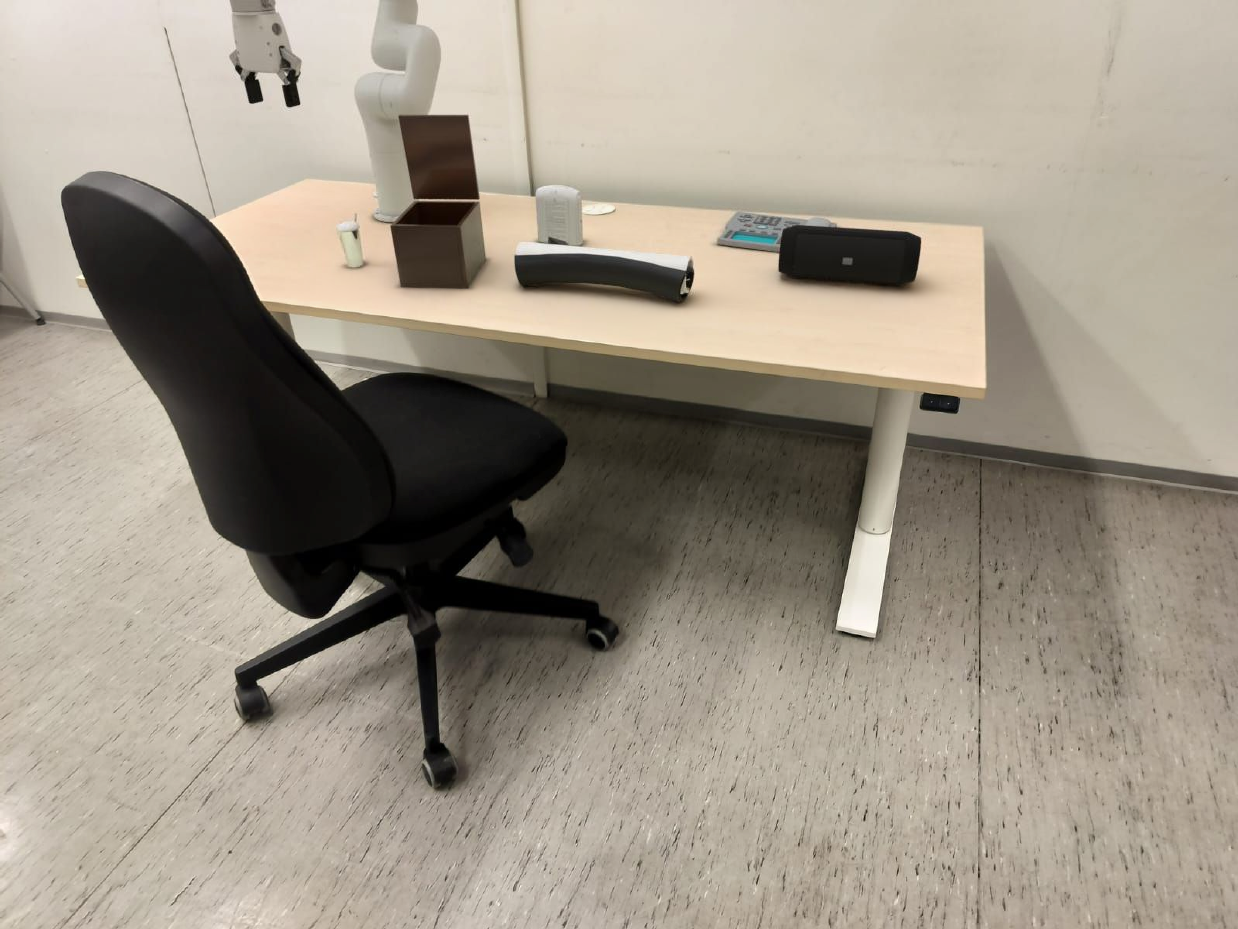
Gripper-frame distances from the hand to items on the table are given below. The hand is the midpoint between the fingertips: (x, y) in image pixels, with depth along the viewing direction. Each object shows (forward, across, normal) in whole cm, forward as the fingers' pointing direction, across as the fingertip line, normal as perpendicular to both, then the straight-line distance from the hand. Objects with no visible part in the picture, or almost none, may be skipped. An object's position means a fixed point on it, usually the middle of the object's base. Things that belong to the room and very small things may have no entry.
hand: (274, 104), depth 165 cm
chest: (+31, -32, -5) cm, 45 cm away
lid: (+10, -30, -11) cm, 33 cm away
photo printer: (+31, -45, -30) cm, 62 cm away
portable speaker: (+31, -107, -33) cm, 116 cm away
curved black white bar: (+31, -66, -12) cm, 74 cm away
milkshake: (+31, -12, -1) cm, 33 cm away
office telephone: (+31, -87, -52) cm, 106 cm away
